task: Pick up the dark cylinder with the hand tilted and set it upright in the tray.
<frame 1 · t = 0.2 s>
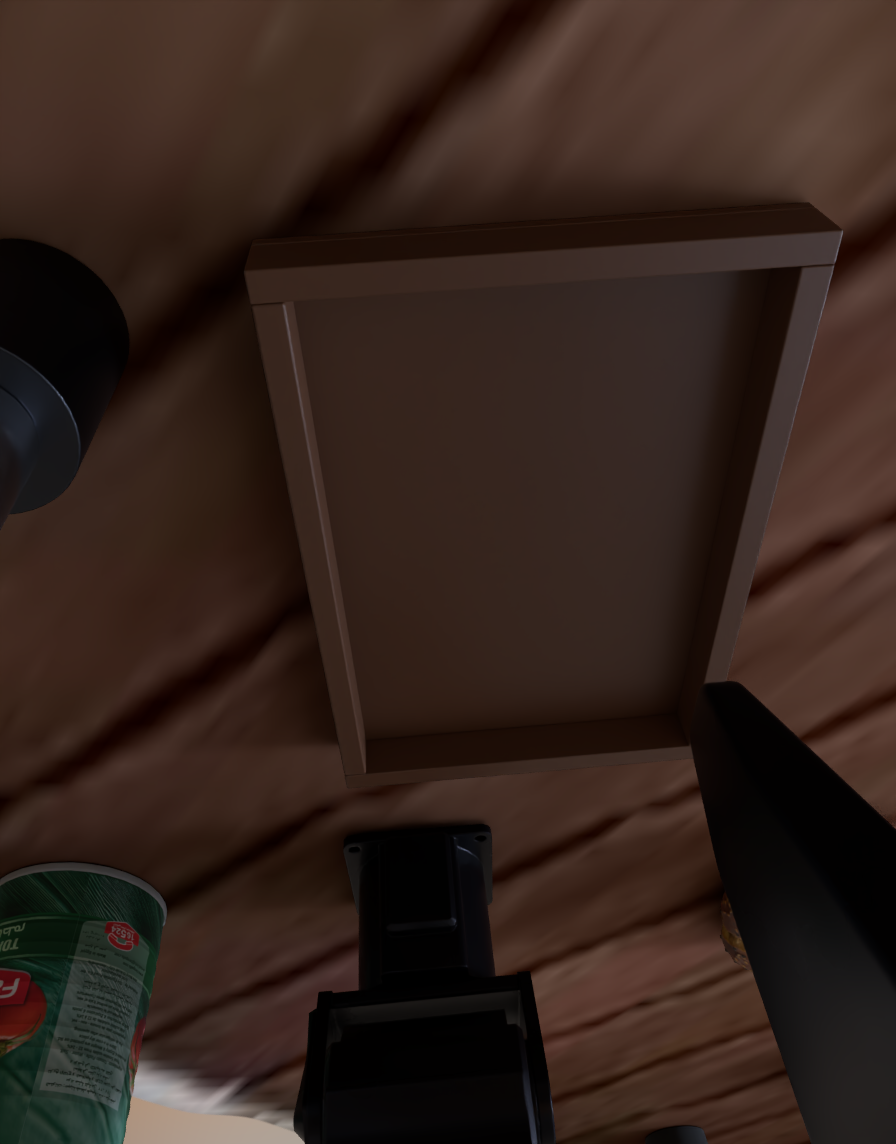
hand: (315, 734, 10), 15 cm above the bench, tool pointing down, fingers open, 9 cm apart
drinking cup: (673, 1132, 69), on the bench
tray: (525, 536, 27), on the bench
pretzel: (816, 878, 43), on the bench
canned tomato: (80, 903, 39), on the bench
dark cylinder: (38, 326, 21), on the bench
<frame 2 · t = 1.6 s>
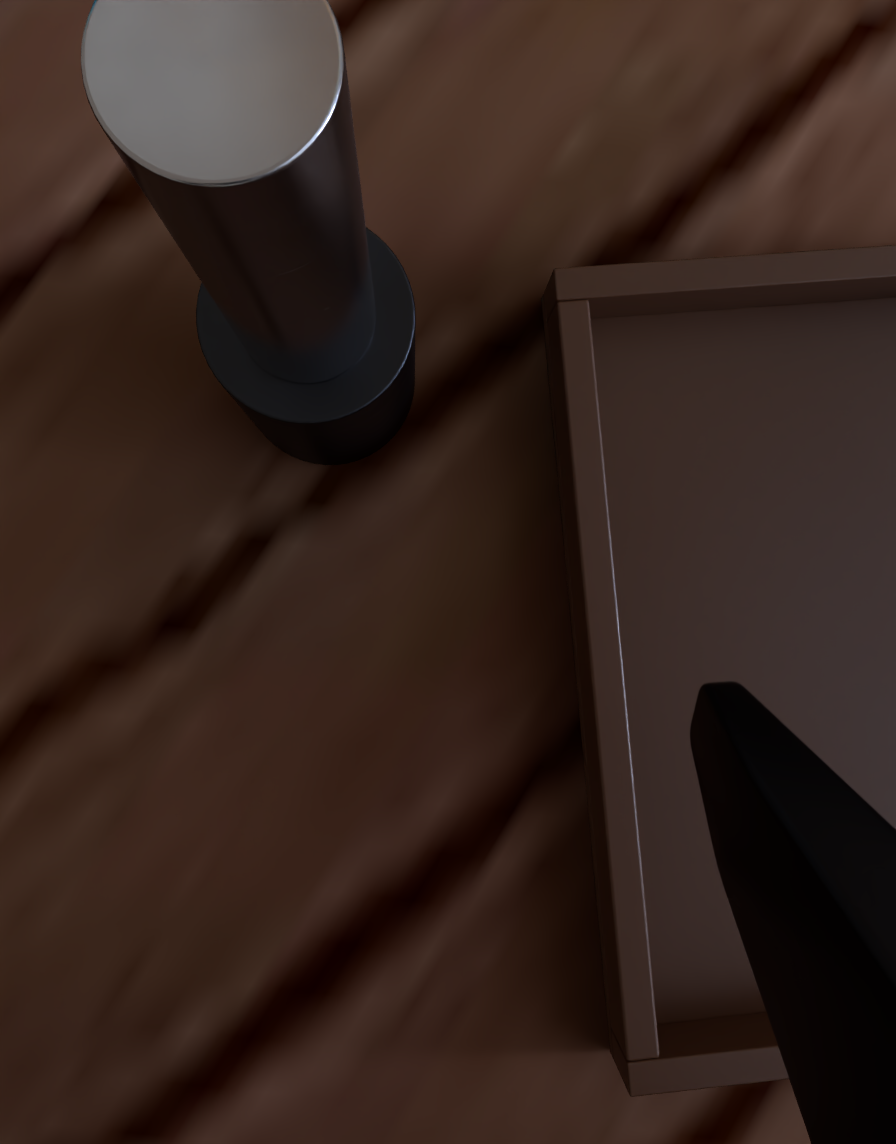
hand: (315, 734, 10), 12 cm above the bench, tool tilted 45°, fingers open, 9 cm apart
tray: (829, 645, 22), on the bench
dark cylinder: (330, 381, 22), on the bench
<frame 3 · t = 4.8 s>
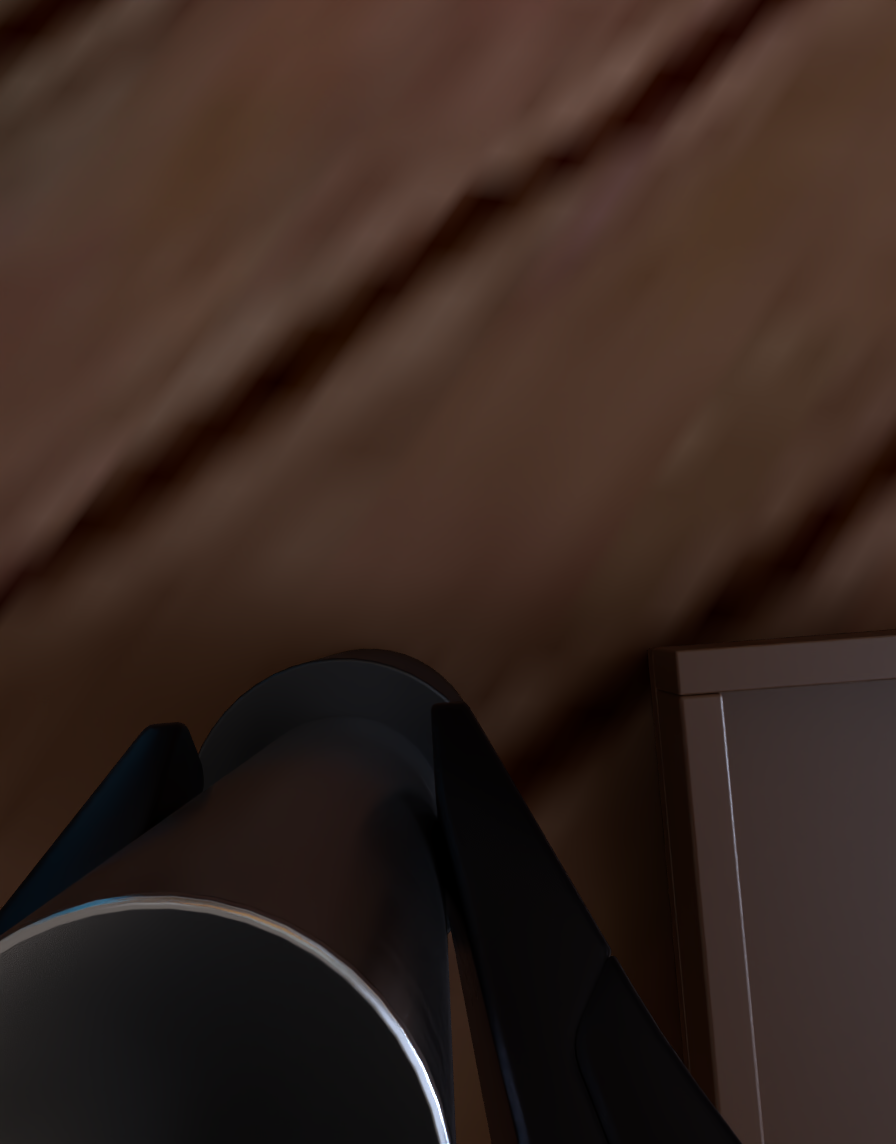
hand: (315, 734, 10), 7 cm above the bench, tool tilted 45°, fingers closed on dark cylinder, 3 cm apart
dark cylinder: (369, 760, 17), on the bench, touching gripper
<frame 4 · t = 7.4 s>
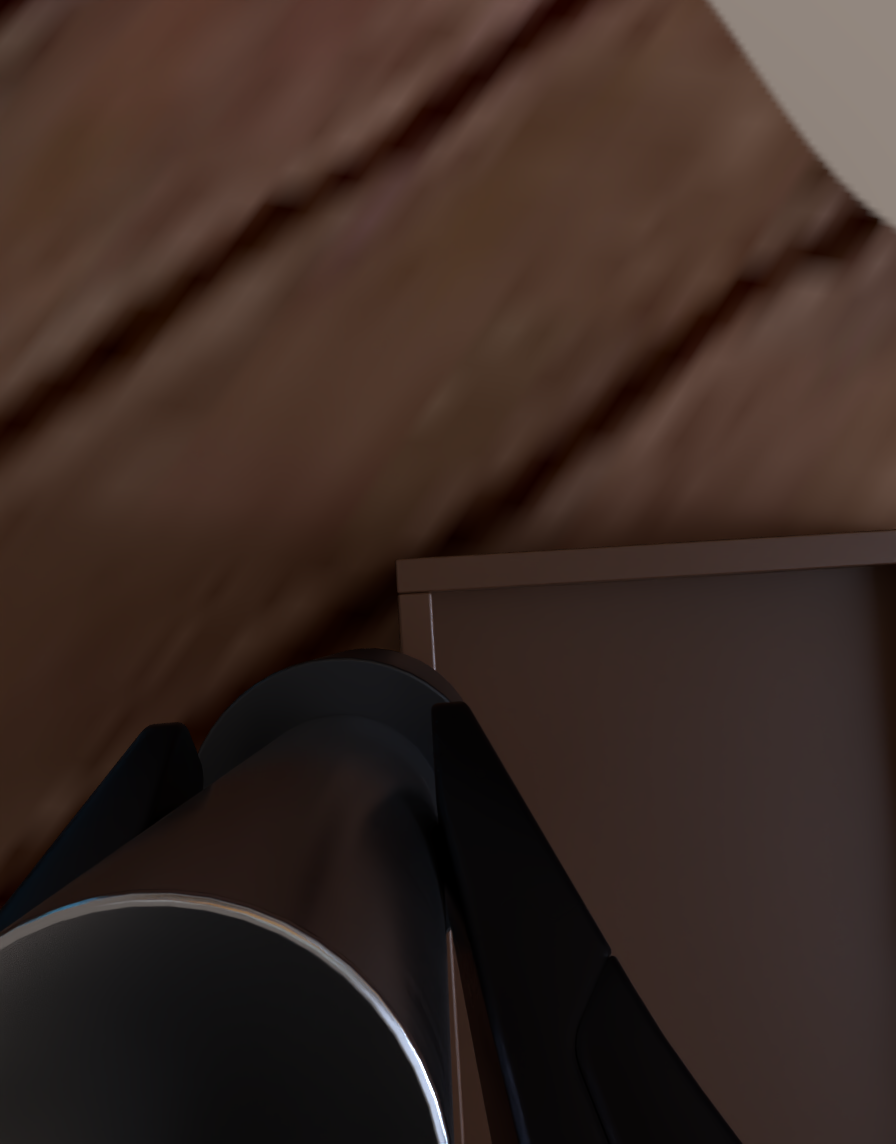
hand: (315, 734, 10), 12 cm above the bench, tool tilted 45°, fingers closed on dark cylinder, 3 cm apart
tray: (690, 936, 21), on the bench
dark cylinder: (369, 759, 17), point 5 cm above the bench, touching gripper
when the fingers open (8 cm above the bench, at t = 10.1 s): dark cylinder stays where it is, resting on tray.
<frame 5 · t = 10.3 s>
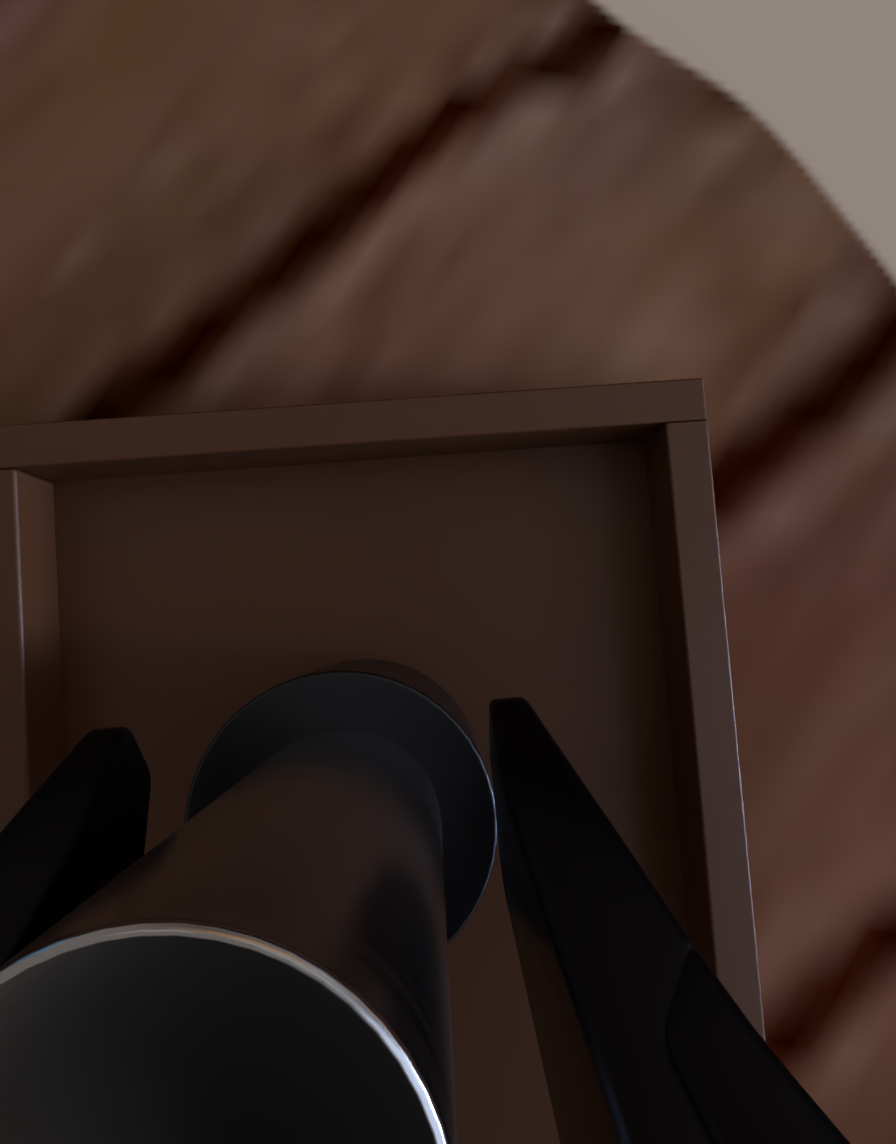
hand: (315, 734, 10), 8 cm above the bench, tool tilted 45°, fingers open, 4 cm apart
tray: (382, 906, 17), on the bench
dark cylinder: (367, 770, 17), resting on tray
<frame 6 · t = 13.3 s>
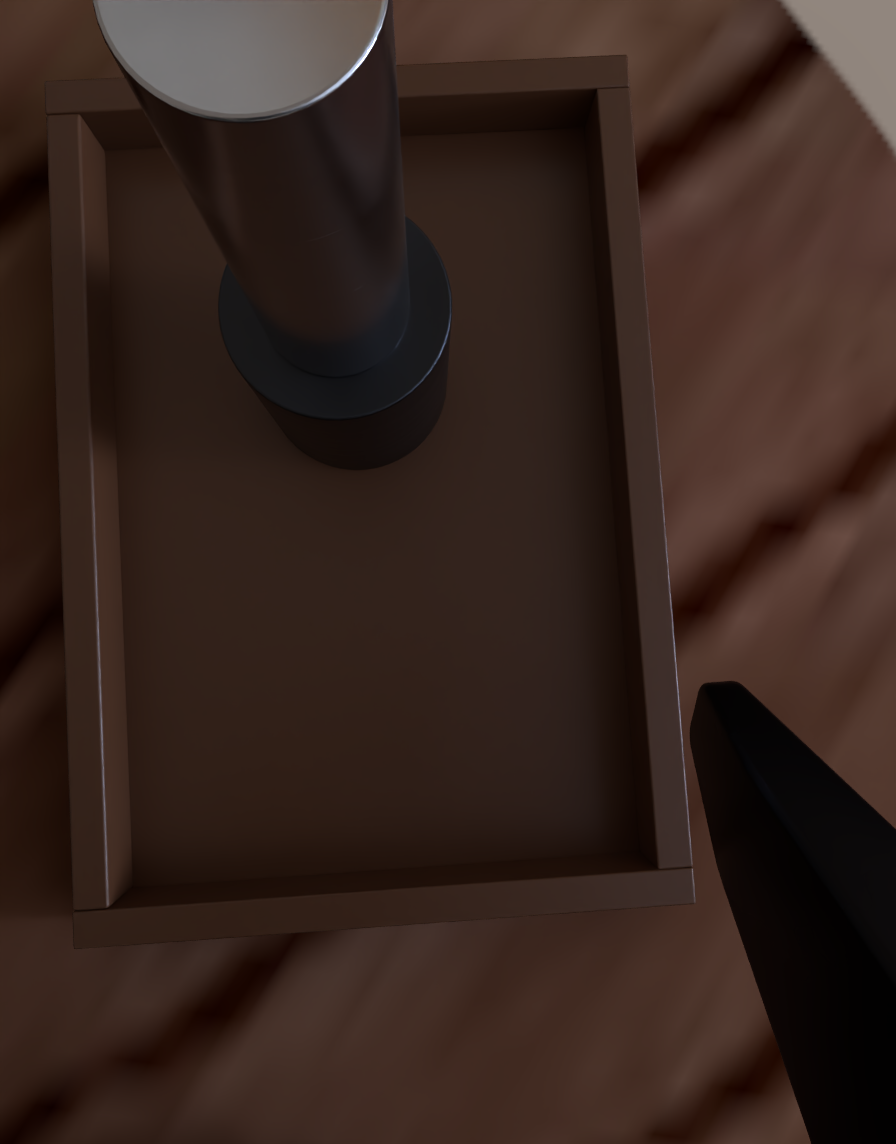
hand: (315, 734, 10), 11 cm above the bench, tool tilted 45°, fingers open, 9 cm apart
tray: (368, 496, 21), on the bench
dark cylinder: (357, 382, 21), resting on tray
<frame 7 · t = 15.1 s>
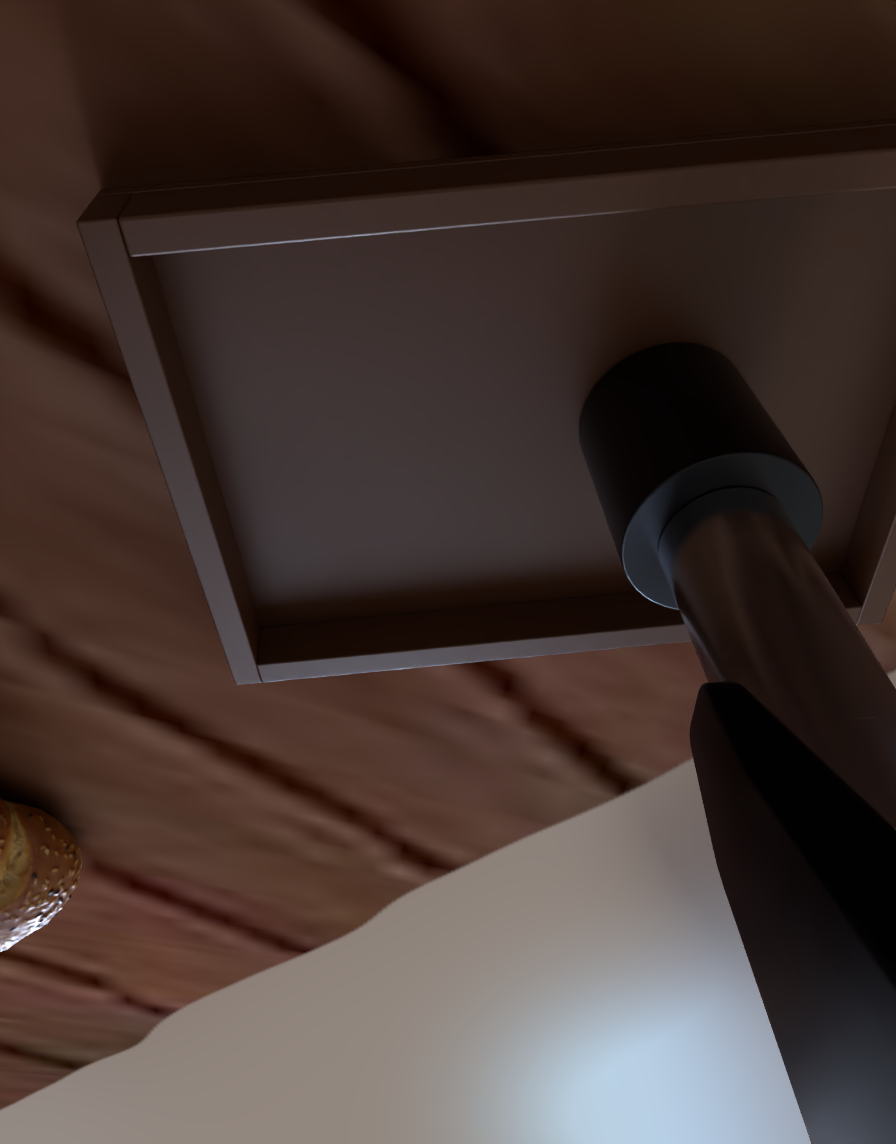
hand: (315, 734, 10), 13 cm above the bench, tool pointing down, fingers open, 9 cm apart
tray: (553, 424, 22), on the bench
dark cylinder: (661, 419, 22), resting on tray
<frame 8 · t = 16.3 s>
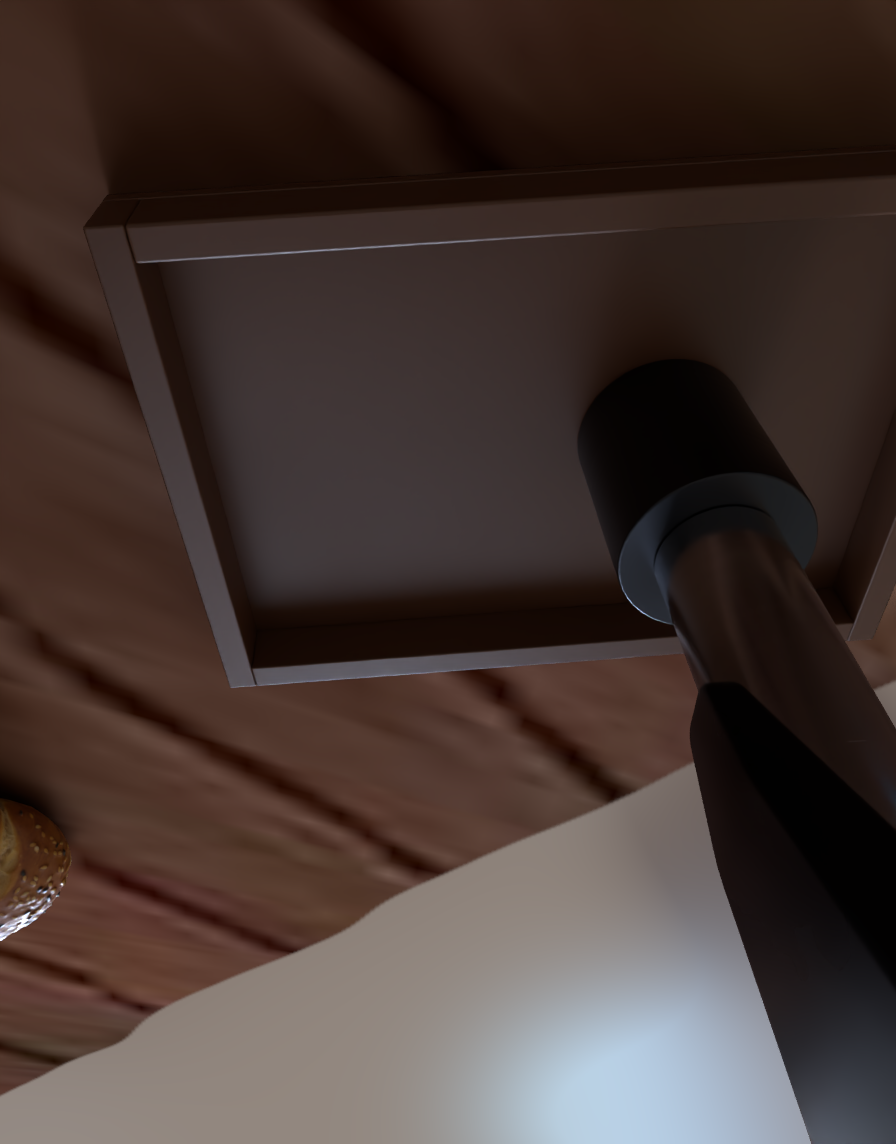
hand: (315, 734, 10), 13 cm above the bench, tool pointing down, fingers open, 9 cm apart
tray: (552, 436, 23), on the bench
dark cylinder: (660, 434, 22), resting on tray
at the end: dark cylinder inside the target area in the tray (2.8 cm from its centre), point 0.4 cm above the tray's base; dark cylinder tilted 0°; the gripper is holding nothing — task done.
